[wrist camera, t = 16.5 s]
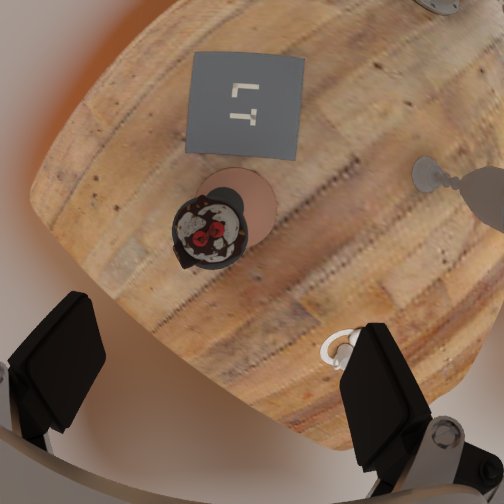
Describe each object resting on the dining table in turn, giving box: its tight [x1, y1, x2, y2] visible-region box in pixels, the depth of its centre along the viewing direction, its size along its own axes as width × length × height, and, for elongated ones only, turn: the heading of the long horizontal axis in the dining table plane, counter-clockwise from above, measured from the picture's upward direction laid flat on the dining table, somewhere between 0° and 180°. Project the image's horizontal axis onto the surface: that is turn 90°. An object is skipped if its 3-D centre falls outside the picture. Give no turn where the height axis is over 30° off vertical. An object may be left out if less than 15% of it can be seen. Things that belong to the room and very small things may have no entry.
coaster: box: [195, 168, 277, 248], centre depth 33 cm, size 10×10×1 cm
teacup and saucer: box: [320, 329, 361, 370], centre depth 40 cm, size 9×8×4 cm
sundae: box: [172, 187, 248, 270], centre depth 26 cm, size 7×7×15 cm
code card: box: [185, 52, 305, 161], centre depth 29 cm, size 13×13×1 cm
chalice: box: [412, 156, 504, 233], centre depth 23 cm, size 7×7×18 cm
